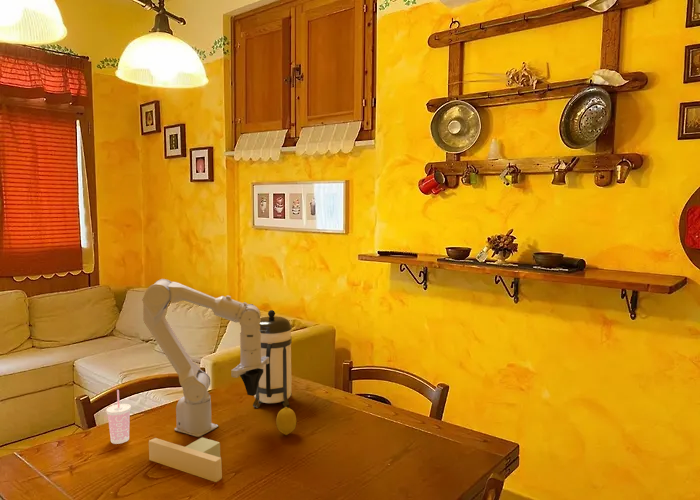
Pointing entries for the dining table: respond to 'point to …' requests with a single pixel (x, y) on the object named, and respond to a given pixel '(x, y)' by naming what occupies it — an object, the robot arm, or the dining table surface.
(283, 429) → the lemon
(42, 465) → the dining table surface
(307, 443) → the dining table surface
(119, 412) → the beverage cup
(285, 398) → the coffee press
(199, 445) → the block
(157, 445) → the board
